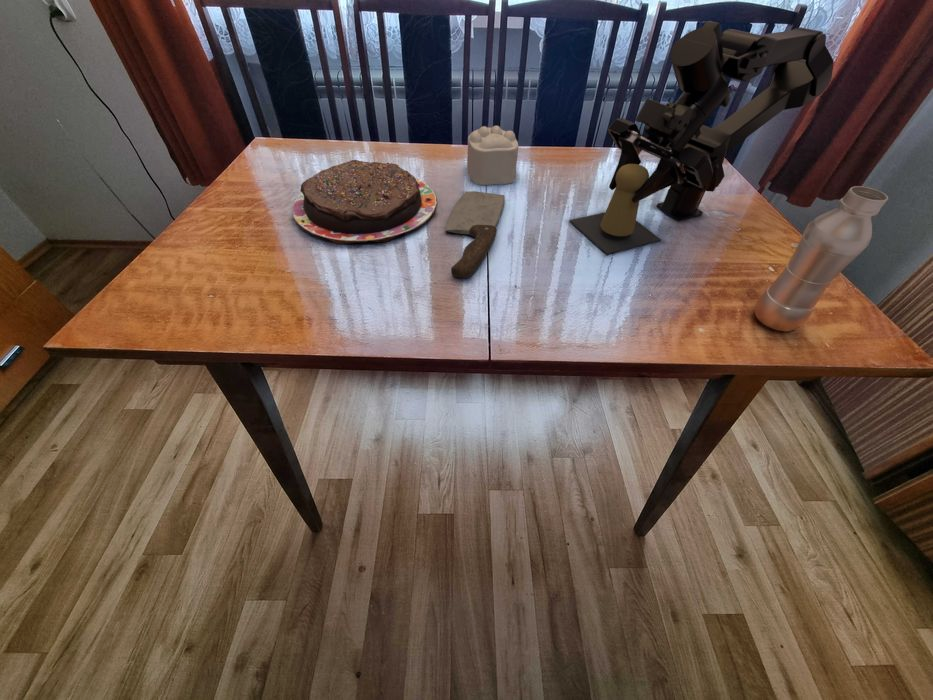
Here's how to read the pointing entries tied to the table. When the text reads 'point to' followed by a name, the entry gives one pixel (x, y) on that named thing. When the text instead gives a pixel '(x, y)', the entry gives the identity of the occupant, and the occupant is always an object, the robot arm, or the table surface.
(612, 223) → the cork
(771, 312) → the plastic bottle
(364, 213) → the chocolate cake
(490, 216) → the cleaver
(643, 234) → the dark square mat
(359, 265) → the table surface
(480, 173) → the lumpy-topped squat cylinder
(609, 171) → the table surface
